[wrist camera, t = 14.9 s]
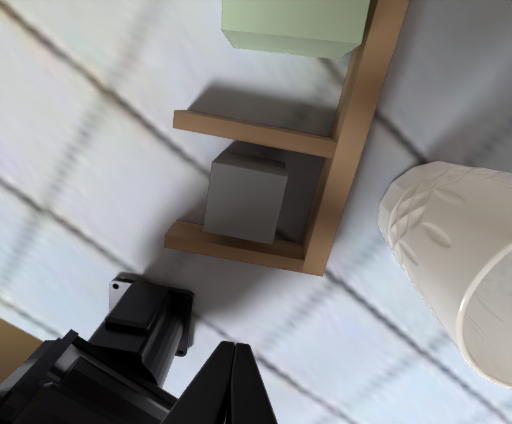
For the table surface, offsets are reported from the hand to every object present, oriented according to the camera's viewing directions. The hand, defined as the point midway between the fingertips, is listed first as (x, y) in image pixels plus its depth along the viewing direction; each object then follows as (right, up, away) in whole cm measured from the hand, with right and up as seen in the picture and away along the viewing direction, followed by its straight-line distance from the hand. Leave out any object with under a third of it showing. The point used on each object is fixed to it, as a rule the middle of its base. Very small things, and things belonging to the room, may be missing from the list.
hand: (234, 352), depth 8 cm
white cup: (+12, +4, +11) cm, 17 cm away
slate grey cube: (0, +6, +11) cm, 12 cm away
